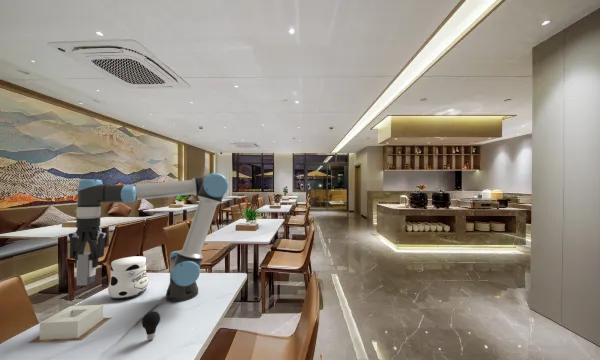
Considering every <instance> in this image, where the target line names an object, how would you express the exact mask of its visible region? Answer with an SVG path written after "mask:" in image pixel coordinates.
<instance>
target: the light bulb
mask: <svg viewBox="0 0 600 360" xmlns="http://www.w3.org/2000/svg"><path fill="white" fill-rule="evenodd" d="M160 322H161V315H160V313H159V312H158V311H155V310H152V311H149V312H147V313H146V314H144V316H143V317H142V320H141V326H142V327H143V329H144V330H145V334H146V339H147V340H148V341H152V340H153V339H154V338H155V337H156V330H157V328H158V325H159V324H160Z"/></svg>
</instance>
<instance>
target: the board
mask: <svg viewBox="0 0 600 360" xmlns="http://www.w3.org/2000/svg"><path fill="white" fill-rule="evenodd" d="M112 318H113V317H103V320H102V321H100V322H99V323H98V324H96V325H95V326H94V327H92V328H91V329H89V330H88V331H87V332H85V333H84V334H82V335H81V336H80V337H78V338H68V339H48V340H39V338H40V335H38V336H37V337H35V338H33V339H31V340H30V341H28V342H27V344H33V343H48V342H49V343H51V342H52V343H53V342H56V343H57V342H70V341H71V342H72V341H76V342H77V341H83V340H84V339H86V338H87V337H88V336H89V335H90V334H92V333H93V332H95V331H96V330H97V329H99V327H102V326H103V325H104V324H105V323H107V322H109V320H111V319H112Z"/></svg>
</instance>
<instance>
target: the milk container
mask: <svg viewBox="0 0 600 360" xmlns="http://www.w3.org/2000/svg"><path fill="white" fill-rule="evenodd" d="M148 279H149V278H148V276H147V258H146V257H145V256H142V255H141V256H140V255H139V256H137V255H136V256H127V257H122V258H118V259H115V260H112V261H111V263H110V280H109V284H108V286H107V291H108V292H107V293H108V296H109V297H110V298H111V299H114V300H115V299H116V300H117V299H118V300H120V299H121V300H122V299H127V298H128V299H129V298H133V297H136V296H139V295H141V294H143V293H144V292H146V290H147V289H148V286H149V280H148Z"/></svg>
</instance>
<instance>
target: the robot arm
mask: <svg viewBox="0 0 600 360" xmlns="http://www.w3.org/2000/svg"><path fill="white" fill-rule="evenodd" d="M228 190H229V181H228V179H227V178H226V177H225V176H224V175H223V174H221V173H216V172H212V173H209V174H207V175H204V176H200V177H199V176H198V177H193V178H192V179H188V180H187V179H186V180H176V181H174V180H173V181H163V182H161V181H160V182H149V183H137V184H103V180H102V179H91V178H89V179H87V178H86V179H83V178H82V179H80V180H79V181H78V189H77V205H76V206H77V207H76V217H77V219H75V220H76V222H75V224H76V225H75V228H76V229H75V230H76V231H75V232H72V233H71V232H70V233H69V234H68V238H69V258H70V259H73V260H74V267H75V268H76V271H75V272H76V274H75V277H76V278H77V265H78V254H82V253H85V249H86V246H87V245H86V244H89V245H88V246H89V252H91V259H90V260H89V277H91V276H94V275H95V276H96V275H97V274H96V273H97V267H98V266H99V259H101V258H103V257H104V256H105V244H106V238H107V236H108V233H107V232H103V231H101V230H100V227H101V217H100V216H101V215H102V214H101V213H102V203H124V204H126V203H133V202H135V201H138V200H146V199H147V200H148V199H158V198H168V197H178V196H188V195H193V196H196V197H197V199H198V200H199V201H198V204H197V207H196V210H195V212H194V216H193V218H192V221H191V223H190V226H189V230H188V233H187V235H186V238H185V241H184V243H183V247H182V249H180V250H175V251H172V252H170V255H169V284H168V287H167V291H166V292H165V299H166V301H168V302H173V303H174V302H178V303H179V302H184V301H189V300H191V299H193V298H195V297H196V296H198V294H199V286H198V284H197V280H198V279H199V278H200V277H199V276H200V275H201V264H202V261H203V259H204V256H203V255H202V252H203V248H204V245H205V242H206V239H207V237H208V233H209V230H210V227H211V224H212V221H213V219H214V216H215V213H216V209H217V206H218V205H220V204H222V200H223V198H224V196H225V195H226V193H227V191H228Z"/></svg>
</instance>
